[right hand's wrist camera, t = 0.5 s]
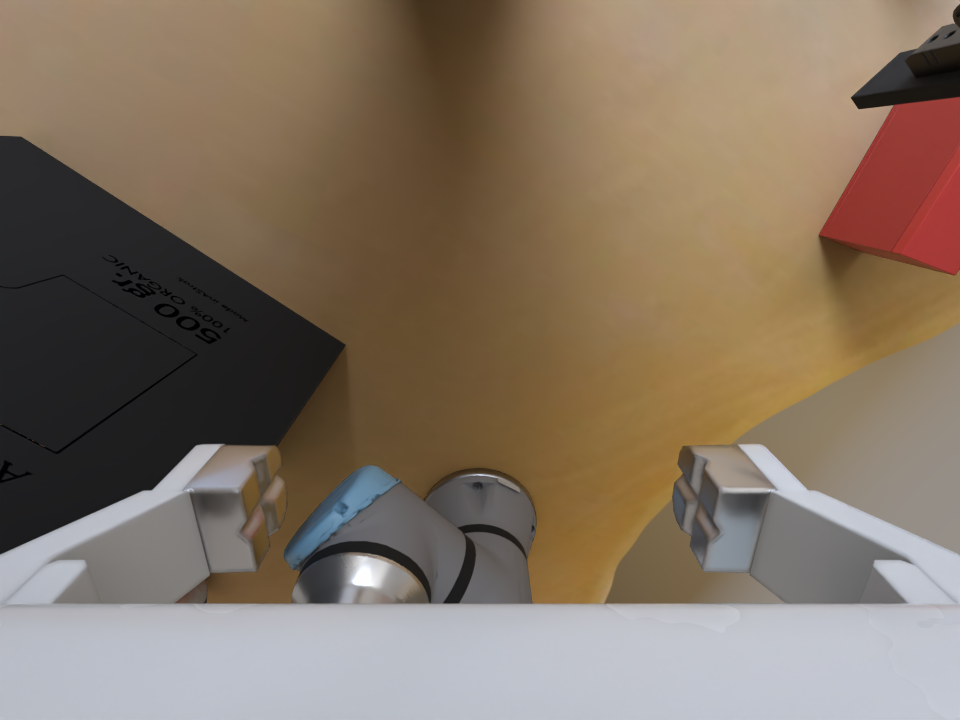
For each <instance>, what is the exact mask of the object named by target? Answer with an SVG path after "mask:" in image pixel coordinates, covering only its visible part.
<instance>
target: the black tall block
mask: <svg viewBox="0 0 960 720" xmlns="http://www.w3.org/2000/svg"><path fill="white" fill-rule="evenodd" d="M120 268H121V269H120ZM130 272H132V273H134V274H130ZM139 278H141V279H142V280H141V279H140V280H138V279H139ZM150 283H151V284H150ZM145 286H146V287H147V288H148V289H147V288H146V287H145ZM151 287H153V288H151ZM150 288H151V290H149V289H150ZM154 288H155V289H159V290H155V289H154ZM131 289H134V290H136V289H137V290H138V291H141V292H138V291H132V292H134V293H135V295H134V294H133V293H131ZM90 291H92V292H93V293H92V292H90ZM152 291H154V292H156V294H155V293H153V292H152ZM160 291H164V292H165V293H164V292H160ZM94 293H95V294H97V295H99V296H100V297H102V298H104V299H105V300H107V301H109V302H110V303H112V304H113V305H112V304H110V303H109V302H107V301H105V300H104V299H102V298H100V297H99V296H97V295H95V294H94ZM143 293H144V295H145V296H146V297H145V298H144V296H143V297H142V298H140V297H141V296H142V294H143ZM146 294H149V295H150V296H147V295H146ZM162 294H168V296H167V295H165V296H164V295H162ZM137 295H139V296H140V297H138V296H137ZM170 297H173V298H172V299H170ZM172 300H174V302H173V301H172ZM175 302H178V303H179V304H177V303H175ZM180 303H182V304H180ZM158 304H159V305H158ZM160 304H162V308H160V307H159V306H160ZM156 305H158V307H157V306H156ZM164 305H166V306H164ZM118 307H119V308H120V309H119V308H118ZM121 309H122V310H124V311H125V312H124V311H122V310H121ZM126 312H127V313H129V314H131V315H132V316H134V317H136V318H137V319H139V320H140V321H139V320H137V319H136V318H134V317H132V316H131V315H129V314H127V313H126ZM144 323H146V324H147V325H149V326H151V327H152V328H151V327H149V326H147V325H146V324H144ZM153 328H154V329H156V330H157V331H156V330H154V329H153ZM158 331H159V332H158ZM162 333H163V334H164V335H166V336H168V337H169V338H168V337H166V336H164V335H163V334H162ZM176 342H178V343H179V344H178V343H176ZM180 344H181V345H183V346H184V347H183V346H181V345H180ZM344 347H345V344H343V343H342V342H340V341H339V340H337V339H335V338H334V337H332V336H331V335H329V334H328V333H326V332H325V331H323V330H321V329H320V328H318V327H317V326H315V325H314V324H312V323H311V322H309V321H307V320H306V319H304V318H303V317H301V316H300V315H298V314H297V313H295V312H293V311H292V310H290V309H289V308H287V307H286V306H284V305H283V304H281V303H279V302H278V301H276V300H275V299H273V298H272V297H270V296H269V295H267V294H265V293H264V292H262V291H261V290H259V289H258V288H256V287H254V286H253V285H251V284H250V283H248V282H247V281H245V280H244V279H242V278H240V277H239V276H237V275H236V274H234V273H233V272H231V271H230V270H228V269H226V268H225V267H223V266H222V265H220V264H219V263H217V262H216V261H214V260H212V259H211V258H209V257H208V256H206V255H205V254H203V253H202V252H200V251H198V250H197V249H195V248H194V247H192V246H191V245H189V244H188V243H186V242H184V241H183V240H181V239H180V238H178V237H177V236H175V235H173V234H172V233H170V232H169V231H167V230H166V229H164V228H163V227H161V226H159V225H158V224H156V223H155V222H153V221H152V220H150V219H149V218H147V217H145V216H144V215H142V214H141V213H139V212H138V211H136V210H135V209H133V208H131V207H130V206H128V205H127V204H125V203H124V202H122V201H121V200H119V199H117V198H116V197H114V196H113V195H111V194H110V193H108V192H106V191H105V190H103V189H102V188H100V187H99V186H97V185H96V184H94V183H92V182H91V181H89V180H88V179H86V178H85V177H83V176H82V175H80V174H78V173H77V172H75V171H74V170H72V169H71V168H69V167H68V166H66V165H64V164H63V163H61V162H60V161H58V160H57V159H55V158H54V157H52V156H50V155H49V154H47V153H46V152H44V151H43V150H41V149H40V148H38V147H36V146H35V145H33V144H32V143H30V142H29V141H27V140H25V139H24V138H22V137H15V136H0V424H2V425H0V554H3V553H5V552H7V551H9V550H12V549H14V548H16V547H18V546H21V545H23V544H25V543H27V542H30V541H32V540H34V539H36V538H39V537H41V536H43V535H45V534H48V533H50V532H52V531H54V530H56V529H59V528H61V527H63V526H65V525H68V524H70V523H72V522H74V521H77V520H79V519H81V518H83V517H86V516H88V515H90V514H92V513H95V512H97V511H99V510H101V509H104V508H106V507H108V506H110V505H113V504H115V503H117V502H119V501H121V500H124V499H126V498H128V497H130V496H133V495H135V494H137V493H139V492H142V491H152V490H153V489H154V488H155V487H156V486H157V485H158V484H159V483H160V482H161V481H162V480H163V479H164V478H165V477H166V476H167V475H168V474H169V473H170V472H171V471H172V470H173V469H174V468H175V467H176V466H177V465H178V464H179V462H180V461H181V460H182V459H183V458H184V457H185V456H186V455H187V454H188V453H189V452H190V451H191V450H192V449H193V448H194V447H195V446H196V445H201V444H225V445H227V444H241V445H275V446H276V447H277V446H278V444H279V443H280V441H281V440H282V438H283V437H284V435H285V434H286V432H287V431H288V430H289V428H290V427H291V425H292V424H293V422H294V421H295V419H296V418H297V416H298V415H299V413H300V412H301V410H302V409H303V407H304V406H305V404H306V403H307V401H308V400H309V398H310V397H311V395H312V394H313V393H314V391H315V390H316V388H317V387H318V385H319V384H320V382H321V381H322V379H323V378H324V376H325V375H326V373H327V372H328V370H329V369H330V367H331V366H332V364H333V363H334V361H335V360H336V358H337V357H338V356H339V354H340V353H341V351H342V350H343V348H344ZM19 433H20V434H19ZM28 438H29V439H28ZM32 440H33V441H32ZM40 444H41V445H43V446H45V447H43V446H41V445H40Z"/></svg>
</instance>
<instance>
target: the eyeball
mask: <svg viewBox="0 0 960 720" xmlns="http://www.w3.org/2000/svg"><path fill="white" fill-rule="evenodd" d="M206 603H207V584H206V582H205V580H203V581H202V582H201V583H200V584H198V585H197V586H196V587H194V588H193V589H192V590H191V591H189V592H188V593H187V594H186V595H184V596H183V597H182V598H180V599H179V600H178V601H177V602H175V603H174V604H206Z"/></svg>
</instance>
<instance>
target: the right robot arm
mask: <svg viewBox="0 0 960 720" xmlns="http://www.w3.org/2000/svg"><path fill="white" fill-rule="evenodd" d="M281 466H282V459H281V454H280V450H279V449H278V448H277V447H276V446H275V445H241V444H227V445H225V444H201V445H196V446H195V447H194V448H193V449H192V450H191V451H190V452H189V453H188V454H187V455H186V456H185V457H184V458H183V459H182V460H181V461H180V462H179V464H178V465H177V466H176V467H175V468H174V469H173V470H172V471H171V472H170V473H169V474H168V475H167V476H166V477H165V478H164V479H163V480H162V481H161V482H160V483H159V484H158V485H157V486H156V487H155V488H154V489H153V490H152V491H142V492H139V493H137V494H135V495H133V496H130V497H128V498H126V499H124V500H121V501H119V502H117V503H115V504H113V505H110V506H108V507H106V508H104V509H101V510H99V511H97V512H95V513H92V514H90V515H88V516H86V517H83V518H81V519H79V520H77V521H74V522H72V523H70V524H68V525H65V526H63V527H61V528H59V529H56V530H54V531H52V532H50V533H48V534H45V535H43V536H41V537H39V538H36V539H34V540H32V541H30V542H27V543H25V544H23V545H21V546H18V547H16V548H14V549H12V550H9V551H7V552H5V553H3V554H0V720H960V555H959V554H957V553H955V552H952V551H950V550H948V549H946V548H943V547H941V546H939V545H937V544H934V543H932V542H930V541H928V540H926V539H923V538H921V537H919V536H917V535H914V534H912V533H910V532H908V531H905V530H903V529H901V528H899V527H897V526H894V525H892V524H890V523H888V522H885V521H883V520H881V519H879V518H876V517H874V516H872V515H870V514H868V513H865V512H863V511H861V510H859V509H856V508H854V507H852V506H850V505H847V504H845V503H843V502H841V501H838V500H836V499H834V498H832V497H830V496H827V495H825V494H823V493H821V492H818V491H808V490H807V489H806V488H805V487H804V486H803V485H802V484H801V483H800V482H799V481H798V480H797V479H796V478H795V477H794V476H793V475H792V474H791V473H790V472H789V471H788V470H787V468H785V466H784V465H783V464H782V463H781V462H780V461H779V460H778V459H777V458H776V457H775V456H774V455H773V454H772V453H771V452H770V451H769V450H768V449H767V448H766V447H765V446H763V445H760V444H737V445H698V446H683V447H682V449H681V451H680V453H679V458H678V466H679V467H680V469H681V471H682V472H683V474H682V475H681V477H680V478H679V479H678V480H677V481H676V482H675V483H674V489H673V496H672V498H673V510H674V514H675V517H676V521H677V523H678V524H679V527H680V528H681V530H682V531H684V532H685V533H687V534H689V535H690V536H691V542H690V547H691V549H692V551H693V553H694V555H695V556H696V558H697V560H698V562H699V564H700V566H701V567H702V569H703V571H704V572H735V573H750V576H752V577H753V578H754V579H756V580H757V581H758V582H759V583H761V584H762V585H763V586H764V587H766V588H767V589H768V590H770V591H771V592H772V593H773V594H775V595H776V596H777V597H778V598H780V599H781V600H782V601H784V602H785V603H786V604H174V603H175V602H177V601H178V600H179V599H180V598H182V597H183V596H184V595H186V594H187V593H188V592H189V591H191V590H192V589H193V588H194V587H196V586H197V585H198V584H200V583H201V582H202V581H203V580H205V579H206V578H207V577H208V576H210V573H225V572H256V571H257V569H258V568H259V566H260V564H261V562H262V560H263V558H264V556H265V555H266V553H267V551H268V549H269V547H270V542H269V536H270V535H272V534H273V533H275V532H276V531H278V530H279V528H280V526H281V524H282V522H283V520H284V518H285V513H286V509H287V488H286V483H285V482H284V481H283V480H282V479H281V478H280V477H279V476H278V474H277V472H278V471H279V469H280V467H281Z"/></svg>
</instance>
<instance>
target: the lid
mask: <svg viewBox="0 0 960 720" xmlns="http://www.w3.org/2000/svg"><path fill="white" fill-rule="evenodd" d="M892 253H894V254H897V255H900V256H902V257H905V258H907V259H910V260H912V261H915V262H918V263H920V264H923V265H925V266H928V267H930V268H933V269H936V270H938V271H941V272H943V273H947V274H951V275H956V274H957V272H958V271H959V269H960V146H959V147H958V149H957V150H956V152H955V153H954V155H953V157H952V158H951V160H950V161H949V163H948V164H947V166H946V167H945V169H944V171H943V172H942V174H941V175H940V177H939V178H938V180H937V182H936V183H935V185H934V186H933V188H932V189H931V191H930V192H929V194H928V196H927V197H926V199H925V200H924V202H923V203H922V205H921V207H920V208H919V210H918V211H917V213H916V214H915V216H914V217H913V219H912V221H911V222H910V224H909V225H908V227H907V228H906V230H905V232H904V233H903V235H902V236H901V238H900V239H899V241H898V242H897V244H896V246H895V247H894V249H893V250H892Z"/></svg>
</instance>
